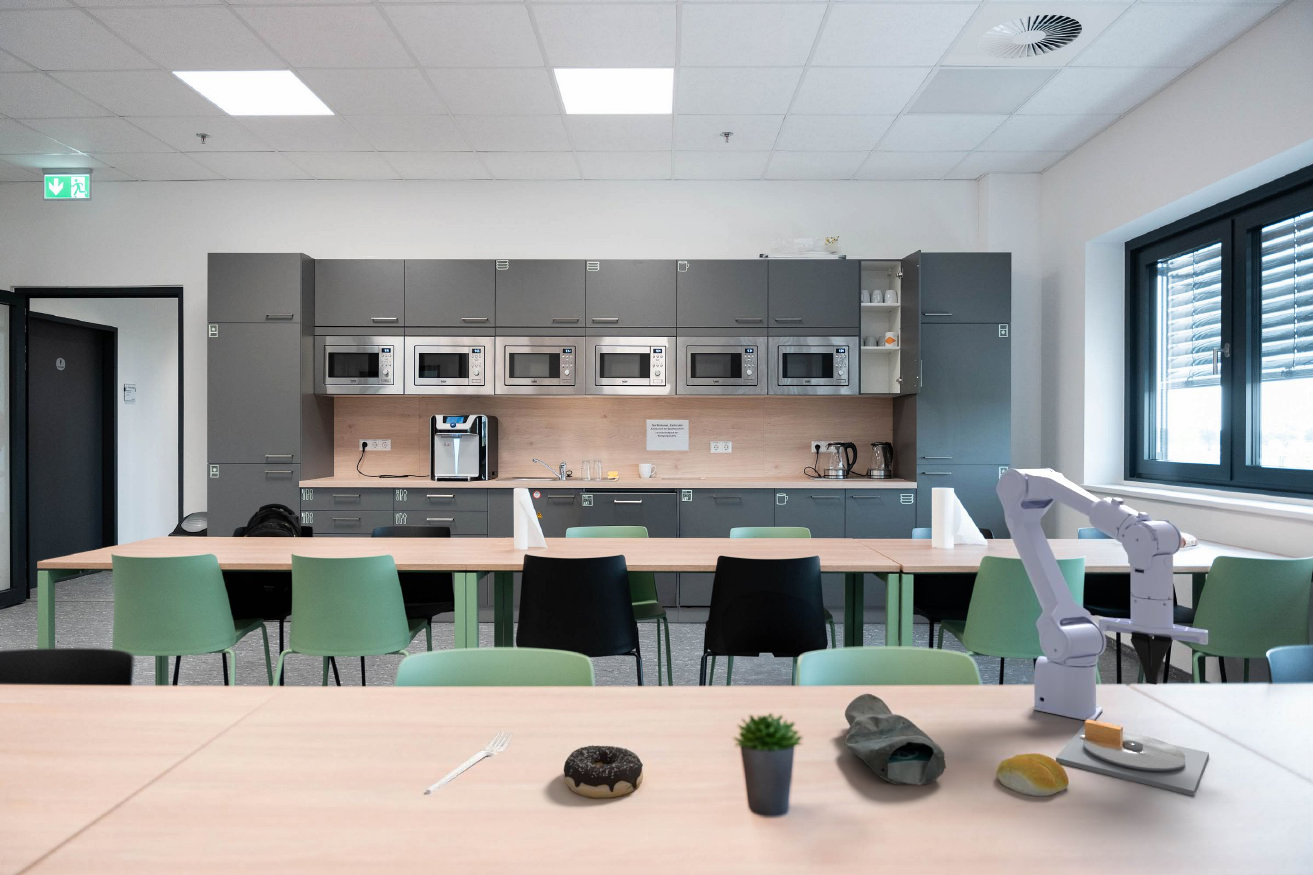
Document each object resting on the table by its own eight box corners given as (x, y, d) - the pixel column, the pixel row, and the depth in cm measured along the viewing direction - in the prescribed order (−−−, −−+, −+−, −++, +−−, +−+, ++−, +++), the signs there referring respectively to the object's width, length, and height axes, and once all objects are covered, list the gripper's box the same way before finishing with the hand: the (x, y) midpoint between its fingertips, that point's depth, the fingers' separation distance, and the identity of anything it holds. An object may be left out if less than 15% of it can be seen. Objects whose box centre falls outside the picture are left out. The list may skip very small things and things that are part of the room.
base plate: (1055, 761, 116) (1055, 755, 116) (1083, 729, 129) (1083, 723, 129) (1193, 795, 105) (1193, 788, 105) (1208, 757, 117) (1208, 750, 117)
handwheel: (1193, 752, 117) (1193, 730, 117) (1175, 779, 107) (1175, 755, 107) (1096, 730, 126) (1096, 709, 126) (1072, 753, 116) (1072, 731, 116)
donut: (582, 809, 102) (582, 778, 102) (550, 774, 112) (550, 747, 112) (657, 791, 107) (657, 762, 107) (620, 760, 117) (620, 733, 117)
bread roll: (1078, 787, 108) (1078, 758, 108) (1042, 803, 103) (1042, 773, 103) (1022, 766, 115) (1022, 738, 115) (985, 780, 110) (985, 752, 110)
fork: (417, 794, 106) (417, 780, 106) (497, 741, 125) (497, 730, 125) (437, 798, 105) (437, 784, 105) (514, 744, 124) (514, 732, 124)
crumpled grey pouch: (959, 790, 106) (904, 720, 131) (955, 738, 106) (901, 678, 131) (863, 797, 107) (826, 727, 132) (859, 746, 107) (823, 685, 132)
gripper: (1209, 598, 122) (1209, 685, 122) (1104, 587, 131) (1104, 668, 131) (1205, 605, 117) (1206, 696, 117) (1096, 593, 126) (1096, 678, 126)
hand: (1151, 682), depth 124 cm, fingers closed
